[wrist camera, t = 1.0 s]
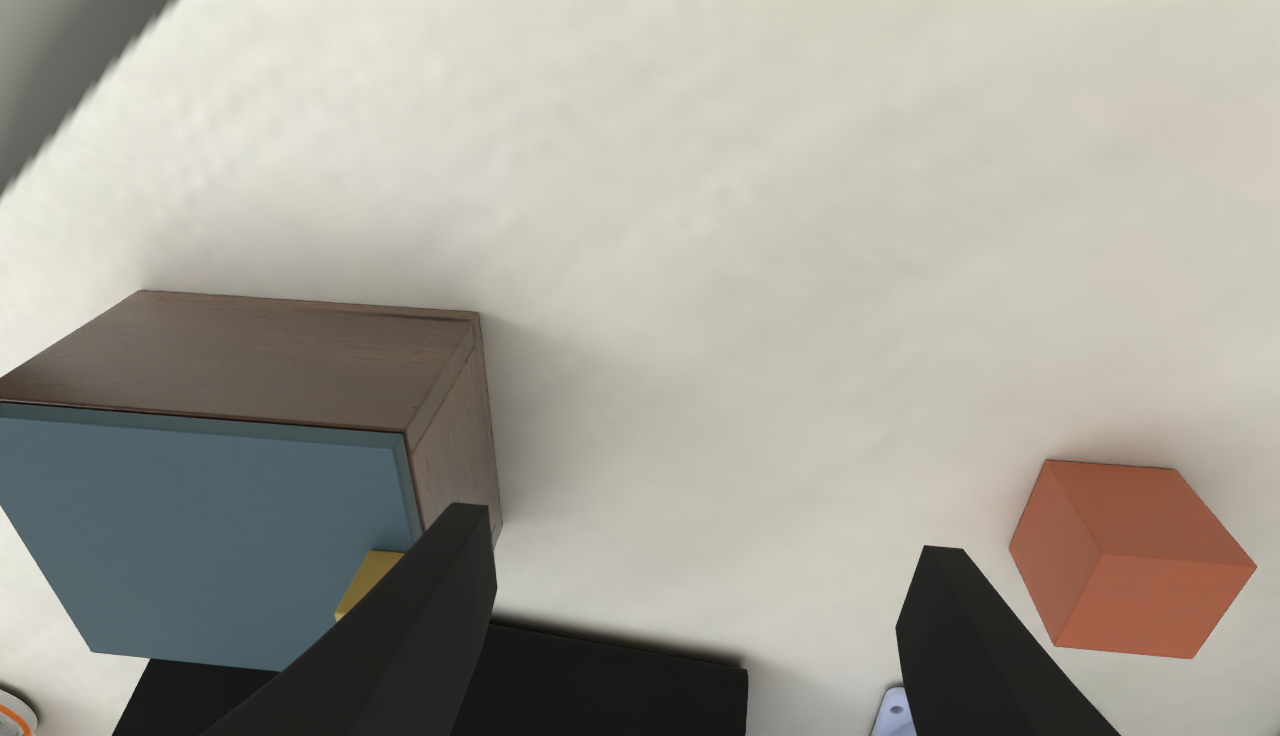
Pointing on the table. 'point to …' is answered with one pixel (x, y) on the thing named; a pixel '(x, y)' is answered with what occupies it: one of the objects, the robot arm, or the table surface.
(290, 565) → the blue-grey slab
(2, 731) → the pill bottle
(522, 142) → the table surface
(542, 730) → the device stand
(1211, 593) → the block
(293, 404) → the brown wooden box
